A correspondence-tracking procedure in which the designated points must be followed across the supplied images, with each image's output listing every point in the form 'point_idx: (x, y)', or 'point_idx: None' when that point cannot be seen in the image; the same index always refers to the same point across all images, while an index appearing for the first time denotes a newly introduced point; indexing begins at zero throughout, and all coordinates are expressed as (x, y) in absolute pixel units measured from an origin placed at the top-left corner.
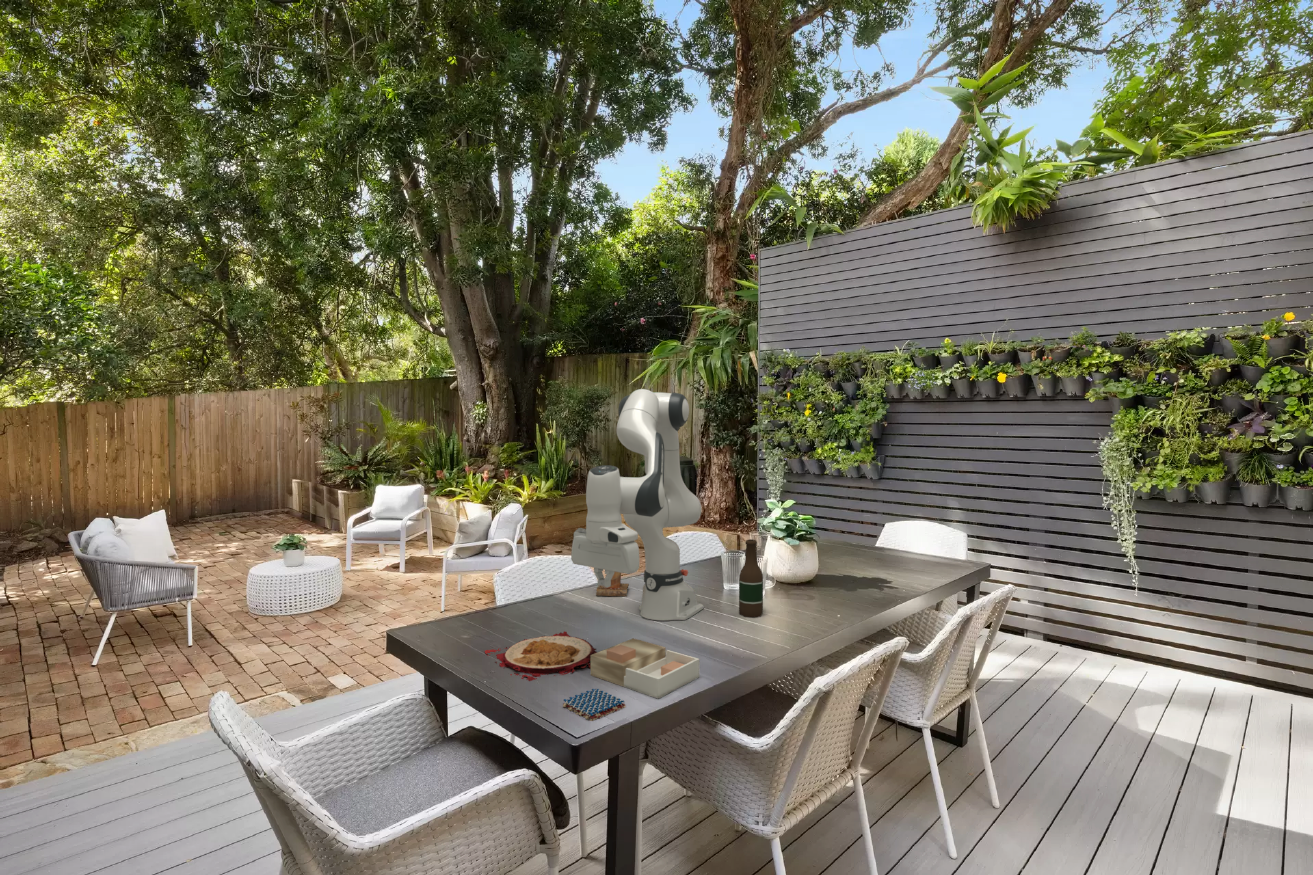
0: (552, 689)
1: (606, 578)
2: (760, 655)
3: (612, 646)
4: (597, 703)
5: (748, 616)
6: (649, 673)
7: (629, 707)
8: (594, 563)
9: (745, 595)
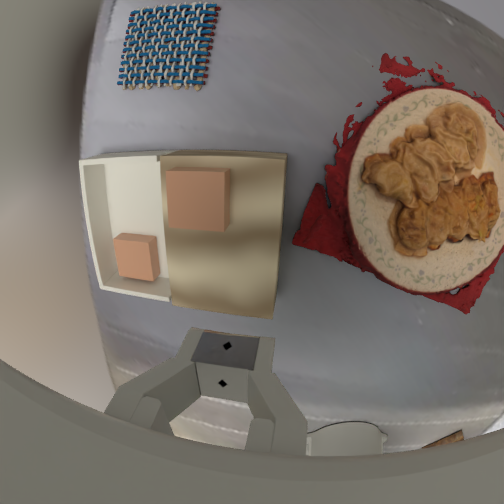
0: (302, 43)
1: (160, 368)
2: (126, 371)
3: (278, 248)
4: (146, 39)
5: None
6: None
7: (116, 91)
8: (254, 495)
9: None
